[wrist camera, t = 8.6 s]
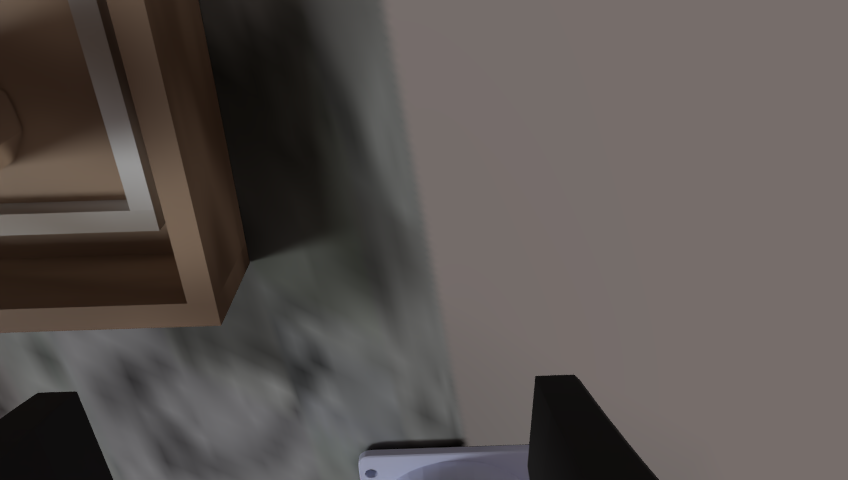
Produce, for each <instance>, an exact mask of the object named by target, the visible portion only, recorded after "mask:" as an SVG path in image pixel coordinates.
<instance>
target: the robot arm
mask: <svg viewBox="0 0 848 480" xmlns="http://www.w3.org/2000/svg"><path fill="white" fill-rule="evenodd" d="M358 465H359V474H360V480H659V479H658V478H657V477H656V476H655V475H654V473H653V472H652V471H651V470H650V469H649V468H648V466H647V465H646V464H645V463H644V462H643V461H642V459H641V458H640V457H639V456H638V454H637V453H636V452H635V451H634V450H633V448H632V447H631V446H630V445H629V444H628V442H627V441H626V440H625V439H624V437H623V436H622V435H621V433H620V432H619V431H618V430H617V428H616V427H615V426H614V425H613V423H612V422H611V421H610V420H609V418H608V417H607V416H606V414H605V413H604V412H603V410H602V409H601V408H600V406H599V405H598V404H597V402H596V401H595V400H594V398H593V397H592V396H591V394H590V393H589V392H588V390H587V389H586V388H585V386H584V385H583V384H582V382H581V381H580V380H579V379H578V378H577V377H576V376H575V375H552V376H536V377H535V388H534V399H533V409H532V420H531V432H530V442H529V444H528V445H503V446H502V445H500V446H470V447H442V448H413V449H384V450H367V451H365V452H363V453H361V455H360V456H359V464H358ZM370 469H372V470H370ZM0 480H113V478H112V476H111V473H110V471H109V468H108V466H107V464H106V461H105V459H104V456H103V454H102V451H101V449H100V447H99V444H98V442H97V439H96V437H95V435H94V432H93V430H92V427H91V425H90V423H89V420H88V418H87V415H86V413H85V410H84V408H83V406H82V403H81V401H80V398H79V396H78V394H77V392H49V393H37V394H35V395H34V396H32V397H31V398H29V399H28V400H27V401H25V402H24V403H22V404H21V405H19V406H18V407H16V408H15V409H14V410H12V411H11V412H9V413H8V414H7V415H5V416H4V417H3V418H1V419H0Z"/></svg>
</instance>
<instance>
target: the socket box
mask: <svg viewBox="0 0 848 480" xmlns="http://www.w3.org/2000/svg"><path fill="white" fill-rule="evenodd" d="M0 89H1V90H3V91H4V92H5V93H6V94H8V96H9V99H10V101H11V103H12V105H13V108H14V110H15V112H16V114H17V117H18V119H19V121H20V123H21V125H22V128H23V131H22V135H21V139H20V142H19V146H18V150H17V153H16V157H15V159H14V160H13V161H12V162H11V163H9V164H8V165H7V166H6V167H4V168H3V169H2V170H1V171H0V333H10V332H40V331H70V330H101V329H131V328H162V327H192V326H221V325H222V322H223V320H224V318H225V316H226V314H227V312H228V309H229V307H230V305H231V303H232V301H233V298H234V296H235V294H236V292H237V290H238V287H239V285H240V283H241V281H242V279H243V276H244V274H245V272H246V270H247V268H248V265H249V263H250V261H249V256H248V251H247V246H246V241H245V236H244V230H243V225H242V220H241V215H240V210H239V205H238V200H237V195H236V190H235V184H234V179H233V174H232V169H231V164H230V159H229V154H228V149H227V144H226V138H225V133H224V128H223V123H222V118H221V113H220V108H219V103H218V98H217V92H216V87H215V82H214V77H213V72H212V67H211V62H210V57H209V52H208V46H207V41H206V36H205V31H204V26H203V21H202V16H201V11H200V6H199V0H0Z"/></svg>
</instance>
